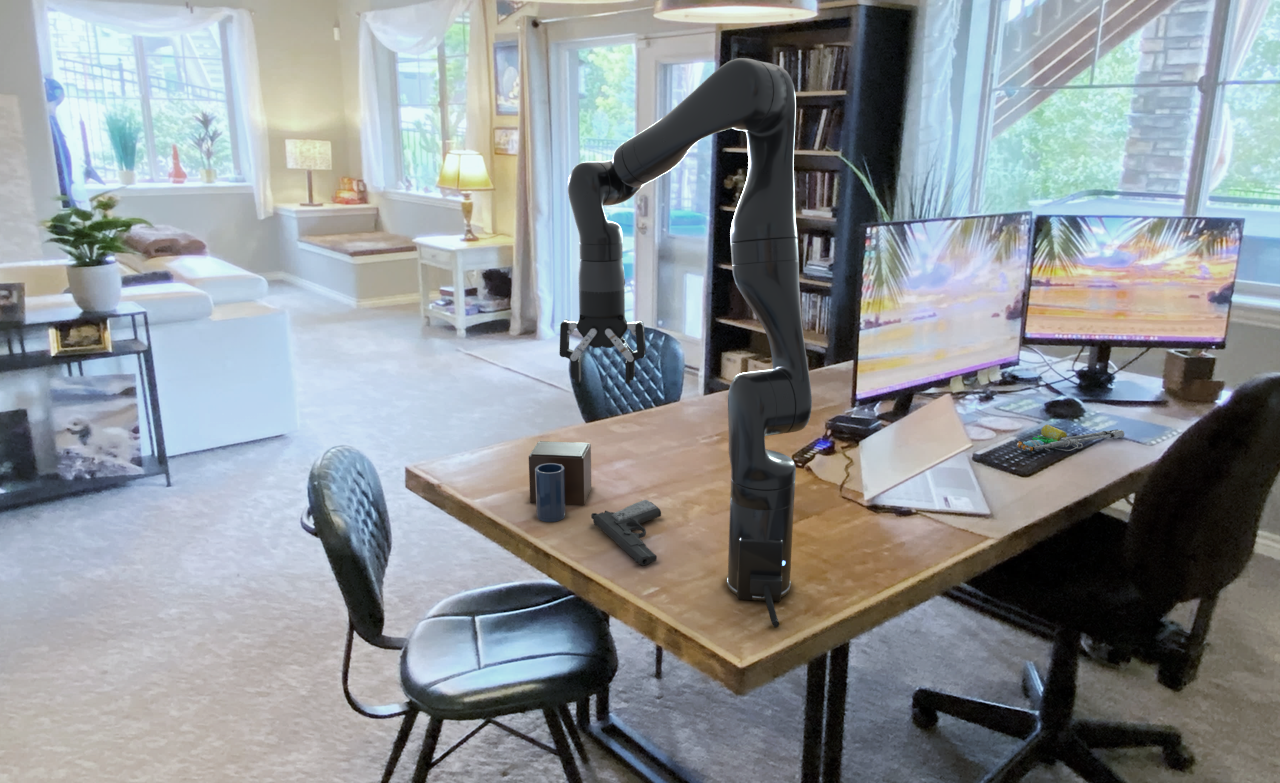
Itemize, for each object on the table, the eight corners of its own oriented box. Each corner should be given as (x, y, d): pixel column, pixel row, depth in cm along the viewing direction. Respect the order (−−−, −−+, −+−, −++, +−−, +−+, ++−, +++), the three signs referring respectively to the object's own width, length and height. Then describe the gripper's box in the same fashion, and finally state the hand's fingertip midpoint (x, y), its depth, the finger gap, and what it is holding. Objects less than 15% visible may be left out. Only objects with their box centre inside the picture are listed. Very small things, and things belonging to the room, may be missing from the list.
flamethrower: (998, 443, 198) (1034, 460, 190) (1000, 431, 198) (1037, 448, 189) (1093, 427, 211) (1132, 442, 202) (1095, 416, 210) (1134, 431, 201)
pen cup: (562, 522, 160) (561, 474, 158) (534, 521, 161) (532, 472, 158) (567, 511, 165) (566, 463, 162) (540, 509, 165) (538, 462, 163)
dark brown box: (584, 505, 167) (583, 457, 165) (530, 502, 168) (528, 454, 166) (591, 488, 175) (590, 442, 172) (539, 486, 176) (538, 440, 173)
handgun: (647, 509, 165) (586, 521, 160) (647, 497, 164) (586, 509, 159) (702, 554, 150) (637, 570, 144) (703, 541, 149) (637, 556, 143)
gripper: (554, 289, 149) (557, 387, 153) (642, 290, 148) (643, 388, 152) (562, 282, 156) (565, 375, 160) (646, 283, 155) (647, 377, 159)
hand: (603, 381), depth 156 cm, fingers open, 8 cm apart
